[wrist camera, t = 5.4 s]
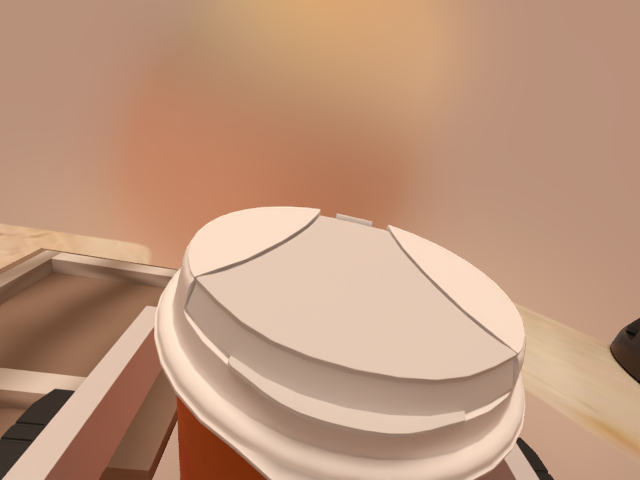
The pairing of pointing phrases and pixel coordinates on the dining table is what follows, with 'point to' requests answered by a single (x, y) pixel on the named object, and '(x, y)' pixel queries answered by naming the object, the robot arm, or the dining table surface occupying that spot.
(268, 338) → the coffee cup
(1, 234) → the dining table surface
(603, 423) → the dining table surface
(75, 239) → the dining table surface
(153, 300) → the walnut board
